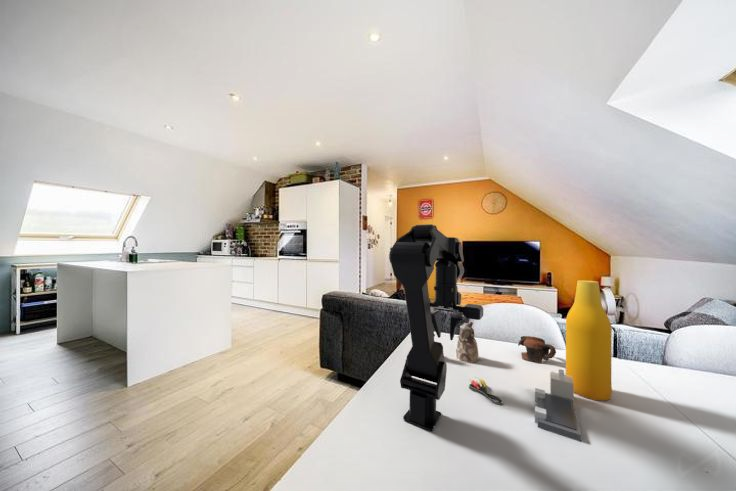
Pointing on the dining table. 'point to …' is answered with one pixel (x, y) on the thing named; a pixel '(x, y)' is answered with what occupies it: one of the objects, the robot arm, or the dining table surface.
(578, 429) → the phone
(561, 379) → the brick
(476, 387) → the composite cable
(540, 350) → the pottery mug
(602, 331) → the beer bottle
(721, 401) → the dining table surface
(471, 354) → the figurine
